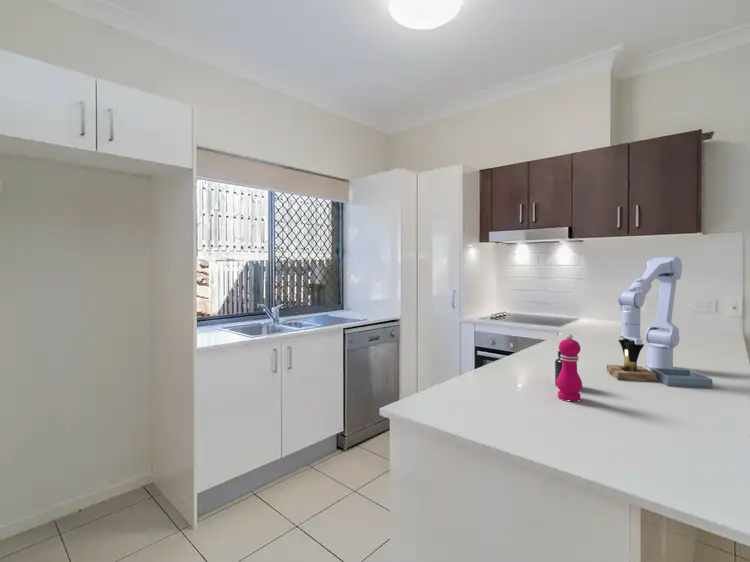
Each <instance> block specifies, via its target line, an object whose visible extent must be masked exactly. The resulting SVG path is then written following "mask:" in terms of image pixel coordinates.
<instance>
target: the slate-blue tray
mask: <svg viewBox="0 0 750 562" xmlns="http://www.w3.org/2000/svg"><path fill="white" fill-rule="evenodd" d="M649 369H650V370H649V371H651V372H652V373H654V374H656V381H658V382H660V383H662V384H664V385H665V386H667V387H678V388H679V387H680V388H681V387H682V388H701V389H702V388H703V389H713V379H712V378H711V377H709V376H706V375H704V374H702V373H700V372H697V371H695V370H693V369H692V368H688V369H687V368H674V369H670V368H649Z"/></svg>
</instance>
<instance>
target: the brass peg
mask: <svg viewBox="0 0 750 562" xmlns="http://www.w3.org/2000/svg"><path fill="white" fill-rule="evenodd" d="M623 366H624V371H631V372H637V366H638V361H637V362H630V361H629V356H628V350H627V349H624V354H623Z"/></svg>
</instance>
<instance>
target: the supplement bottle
mask: <svg viewBox="0 0 750 562" xmlns="http://www.w3.org/2000/svg"><path fill="white" fill-rule="evenodd" d="M561 354H562V353H561V352H560V350H558V351H557V357H558V358H557V359H555V361H554V384H555V386H556V387H557V385H556V382H557V378H558V376H559V374H560V372H561V369H562V360H561V359H560V358H561V356H560V355H561Z"/></svg>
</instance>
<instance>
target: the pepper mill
mask: <svg viewBox="0 0 750 562" xmlns="http://www.w3.org/2000/svg"><path fill="white" fill-rule="evenodd" d="M565 337H566V339H565V338H564V339H562V340H561V341H560V342H559V344H558V351H560V352H561V353H562V354H561V355H560V356H561V358H560V359H561V360H562V369H561V372H560V374H559V376H558V378H557V382H556V385H557V386H556V385H555V386H556V387H557V388H558V390H559V391H558V392H557V398H558V397H559V398H560V399H559V398H558V399H559V400H561V399H564V400H570V401H578V400H580V401H581V393H580V391H581V390H582V389H583V382H582V379H581V377H580V375H579V373H578V361H579V355H578V354H580V352H581V344H580V343H579V342H578V341H577V340H576V339H574V336H573V335H572V334H570V333H569V334H567V335H566V336H565ZM564 400H563V401H564ZM578 402H579V401H578Z"/></svg>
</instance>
